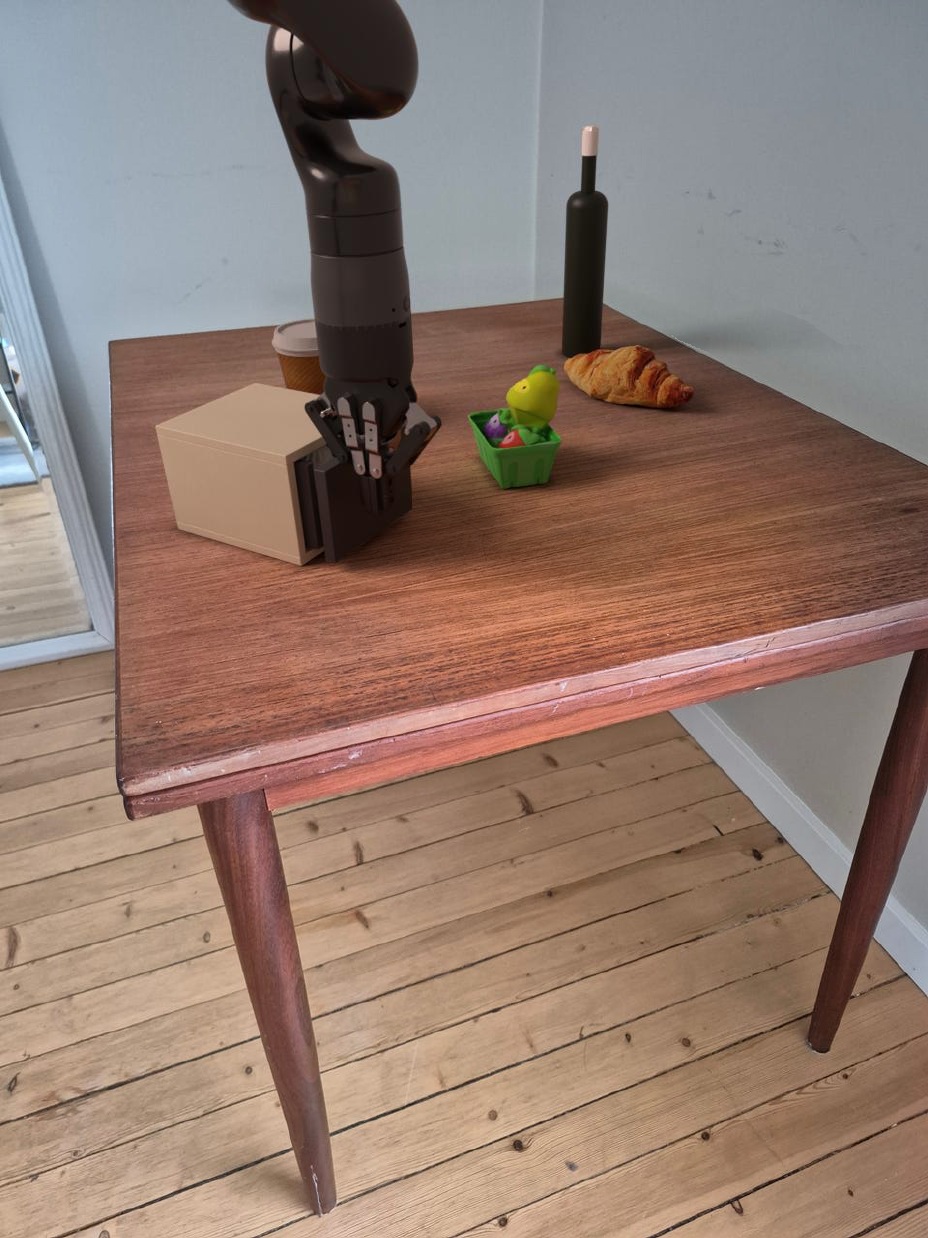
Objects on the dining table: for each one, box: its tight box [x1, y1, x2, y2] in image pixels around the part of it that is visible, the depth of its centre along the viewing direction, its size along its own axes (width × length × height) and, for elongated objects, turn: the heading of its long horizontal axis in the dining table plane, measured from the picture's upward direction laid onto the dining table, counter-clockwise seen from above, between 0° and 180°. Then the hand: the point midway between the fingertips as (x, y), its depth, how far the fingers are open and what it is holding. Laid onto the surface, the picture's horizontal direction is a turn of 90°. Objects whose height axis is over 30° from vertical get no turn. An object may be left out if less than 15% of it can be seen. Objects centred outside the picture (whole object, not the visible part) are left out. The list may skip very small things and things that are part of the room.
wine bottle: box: [561, 125, 609, 358], centre depth 127 cm, size 6×6×30 cm
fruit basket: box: [467, 364, 563, 490], centre depth 96 cm, size 11×9×11 cm
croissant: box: [563, 344, 695, 409], centre depth 117 cm, size 21×10×8 cm, turn 43°
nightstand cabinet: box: [154, 382, 340, 567], centre depth 88 cm, size 16×14×11 cm
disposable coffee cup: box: [271, 318, 326, 395], centre depth 109 cm, size 10×10×12 cm
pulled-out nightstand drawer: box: [293, 422, 414, 564], centre depth 86 cm, size 16×13×9 cm
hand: (379, 511), depth 79 cm, fingers closed
